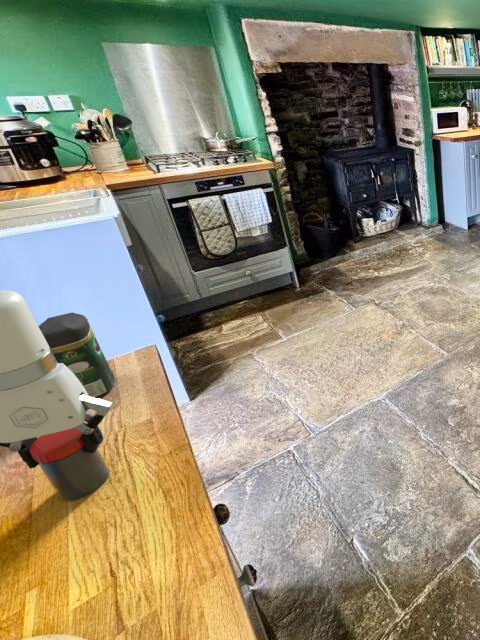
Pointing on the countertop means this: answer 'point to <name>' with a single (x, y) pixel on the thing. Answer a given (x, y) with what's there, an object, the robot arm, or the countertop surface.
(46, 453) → the jam lid
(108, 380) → the coffee jar
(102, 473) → the jam jar
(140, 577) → the countertop surface
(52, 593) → the countertop surface
